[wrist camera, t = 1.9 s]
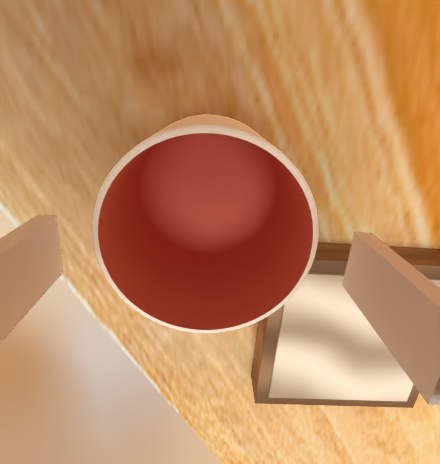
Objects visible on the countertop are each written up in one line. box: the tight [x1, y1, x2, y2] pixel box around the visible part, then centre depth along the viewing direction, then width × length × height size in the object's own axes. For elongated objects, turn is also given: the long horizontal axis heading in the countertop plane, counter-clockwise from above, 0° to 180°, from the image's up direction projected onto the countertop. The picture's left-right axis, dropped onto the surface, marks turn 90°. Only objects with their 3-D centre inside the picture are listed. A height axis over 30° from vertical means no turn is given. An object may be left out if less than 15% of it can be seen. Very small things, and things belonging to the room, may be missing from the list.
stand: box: [251, 243, 440, 408], centre depth 27 cm, size 14×14×3 cm
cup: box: [92, 114, 319, 333], centre depth 19 cm, size 10×10×10 cm
